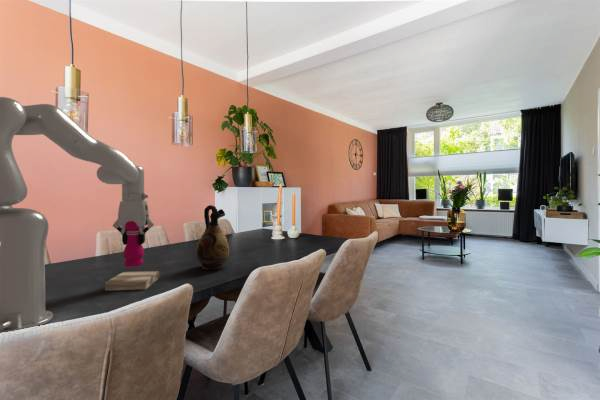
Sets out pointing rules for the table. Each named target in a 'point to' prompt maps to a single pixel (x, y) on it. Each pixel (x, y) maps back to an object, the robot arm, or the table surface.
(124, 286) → the birch stand
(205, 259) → the ceramic jug
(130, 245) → the pepper mill
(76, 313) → the table surface
